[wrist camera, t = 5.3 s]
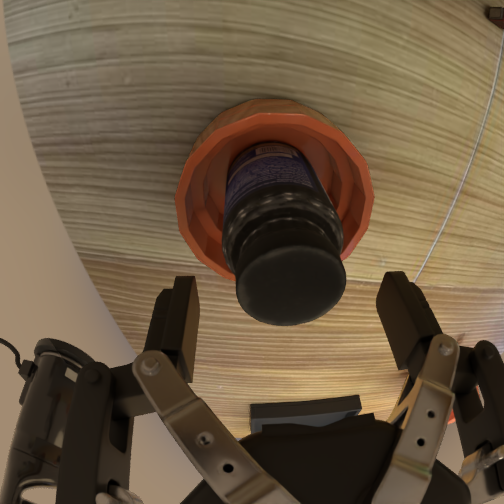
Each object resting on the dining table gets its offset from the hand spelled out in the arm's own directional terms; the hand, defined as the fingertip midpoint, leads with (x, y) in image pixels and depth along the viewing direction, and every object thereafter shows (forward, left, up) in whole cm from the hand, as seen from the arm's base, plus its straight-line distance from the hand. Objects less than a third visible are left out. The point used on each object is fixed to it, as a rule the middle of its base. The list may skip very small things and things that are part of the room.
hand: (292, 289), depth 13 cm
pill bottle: (0, 0, -11) cm, 11 cm away
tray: (+7, -42, -11) cm, 44 cm away
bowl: (0, 0, -11) cm, 11 cm away
